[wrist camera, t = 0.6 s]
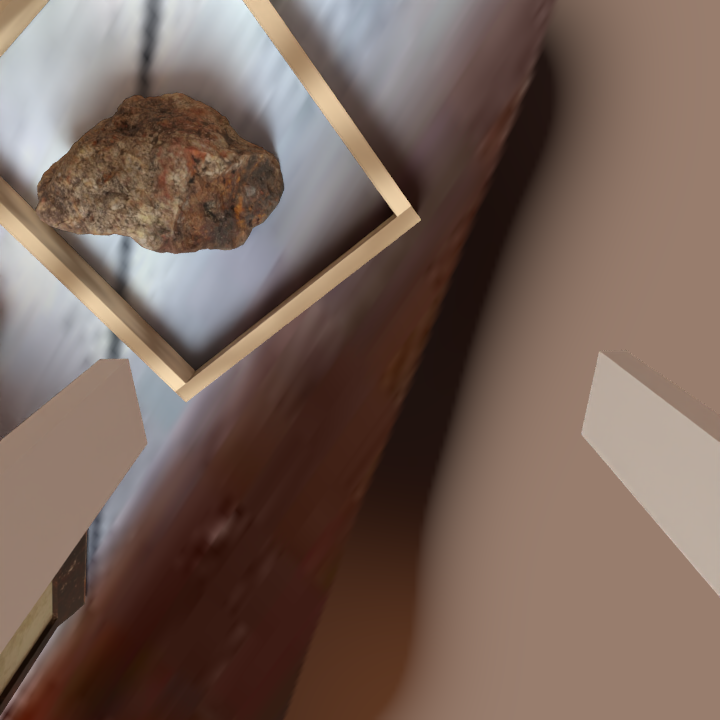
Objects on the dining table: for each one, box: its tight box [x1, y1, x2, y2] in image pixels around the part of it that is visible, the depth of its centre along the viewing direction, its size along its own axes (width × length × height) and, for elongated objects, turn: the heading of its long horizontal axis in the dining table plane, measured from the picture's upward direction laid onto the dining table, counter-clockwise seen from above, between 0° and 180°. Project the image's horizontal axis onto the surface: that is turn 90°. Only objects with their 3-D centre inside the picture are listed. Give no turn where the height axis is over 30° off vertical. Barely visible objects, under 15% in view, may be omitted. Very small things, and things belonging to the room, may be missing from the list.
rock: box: [36, 92, 284, 254], centre depth 30 cm, size 14×9×10 cm
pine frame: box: [0, 0, 421, 402], centre depth 32 cm, size 26×23×2 cm
